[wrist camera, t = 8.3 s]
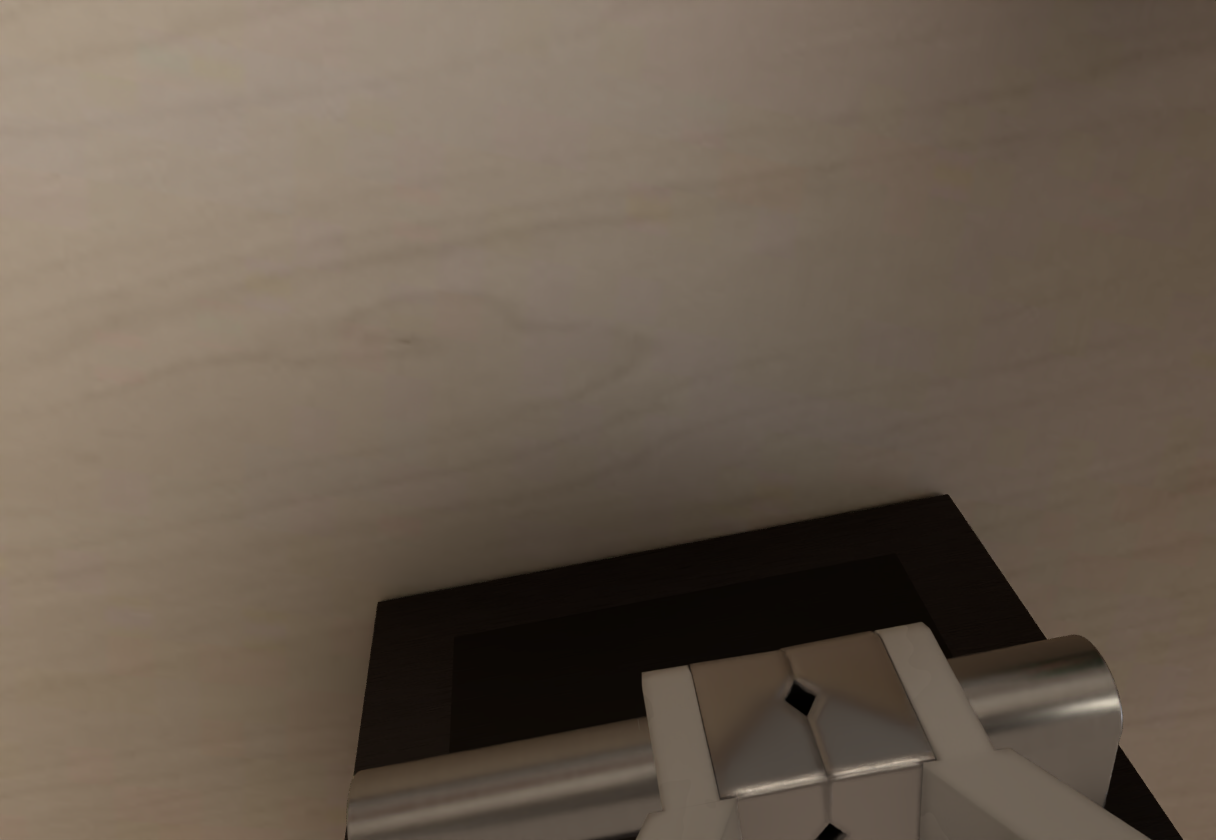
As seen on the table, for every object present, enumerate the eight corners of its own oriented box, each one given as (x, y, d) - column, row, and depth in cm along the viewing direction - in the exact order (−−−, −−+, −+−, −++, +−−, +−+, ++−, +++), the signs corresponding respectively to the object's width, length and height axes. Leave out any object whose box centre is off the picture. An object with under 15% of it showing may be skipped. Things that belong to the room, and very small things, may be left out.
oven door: (320, 458, 26) (190, 960, 15) (957, 339, 26) (1321, 743, 15) (391, 637, 30) (332, 1145, 19) (946, 532, 30) (1227, 972, 19)
